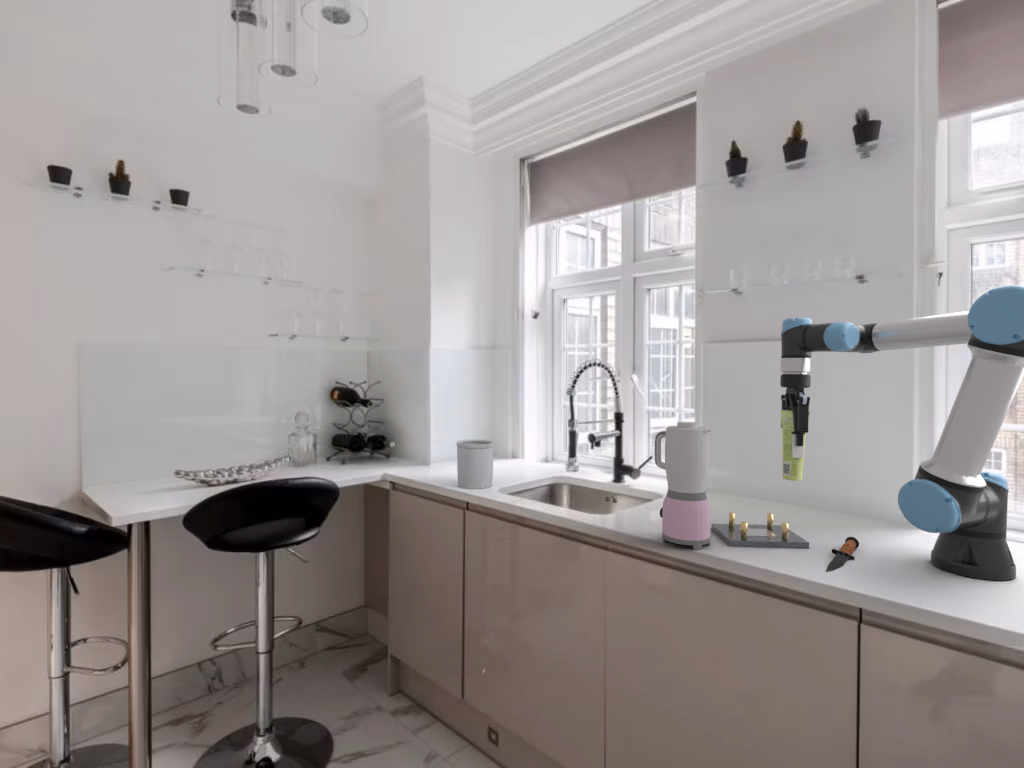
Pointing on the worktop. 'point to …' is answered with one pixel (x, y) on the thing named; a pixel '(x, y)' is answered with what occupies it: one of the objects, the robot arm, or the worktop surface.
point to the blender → (685, 484)
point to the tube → (790, 449)
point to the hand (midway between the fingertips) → (793, 455)
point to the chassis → (758, 534)
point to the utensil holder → (475, 463)
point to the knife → (843, 554)
